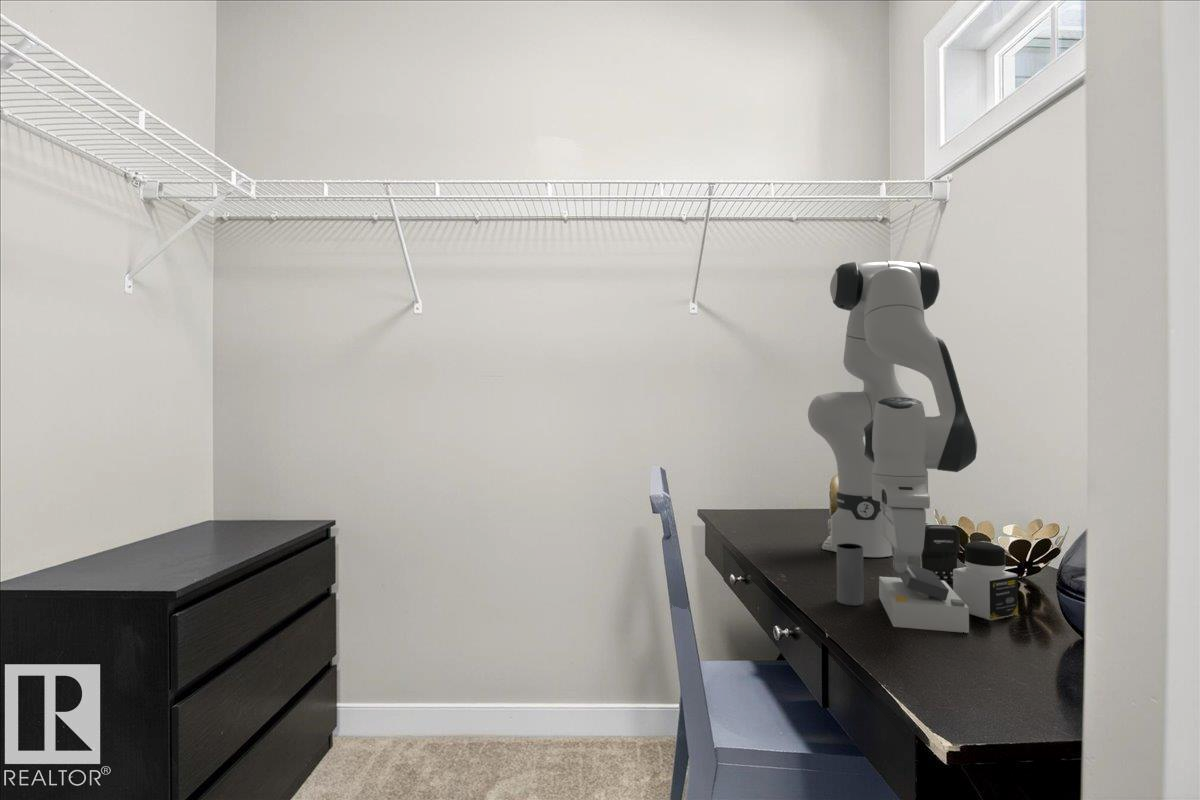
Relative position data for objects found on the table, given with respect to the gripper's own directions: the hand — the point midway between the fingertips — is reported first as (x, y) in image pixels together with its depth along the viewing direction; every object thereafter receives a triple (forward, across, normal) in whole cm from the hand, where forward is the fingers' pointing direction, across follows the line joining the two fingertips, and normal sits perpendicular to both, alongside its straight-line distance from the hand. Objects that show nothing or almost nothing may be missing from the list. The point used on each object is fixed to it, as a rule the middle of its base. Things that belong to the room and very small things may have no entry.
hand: (900, 570), depth 112 cm
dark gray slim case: (+1, 0, +3) cm, 3 cm away
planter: (+8, -4, -8) cm, 12 cm away
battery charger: (+7, -23, +11) cm, 27 cm away
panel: (+7, 0, +3) cm, 8 cm away
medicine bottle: (+8, -4, +14) cm, 17 cm away
